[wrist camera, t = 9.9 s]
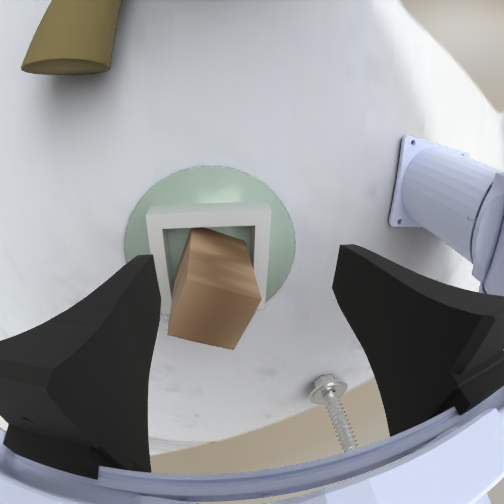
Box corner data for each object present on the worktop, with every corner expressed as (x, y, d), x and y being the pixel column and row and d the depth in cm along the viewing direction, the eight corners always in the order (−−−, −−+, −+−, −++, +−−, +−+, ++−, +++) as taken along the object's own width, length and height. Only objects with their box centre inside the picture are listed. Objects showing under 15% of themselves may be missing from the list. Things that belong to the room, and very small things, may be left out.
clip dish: (300, 166, 19) (312, 173, 17) (285, 311, 25) (291, 329, 23) (116, 172, 17) (104, 180, 15) (142, 318, 23) (137, 337, 21)
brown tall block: (245, 240, 20) (261, 299, 14) (225, 284, 22) (233, 349, 16) (192, 223, 19) (186, 278, 13) (176, 269, 21) (167, 334, 15)
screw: (336, 363, 30) (344, 380, 33) (300, 380, 31) (311, 395, 33) (377, 454, 19) (380, 460, 21) (331, 473, 20) (340, 478, 22)
